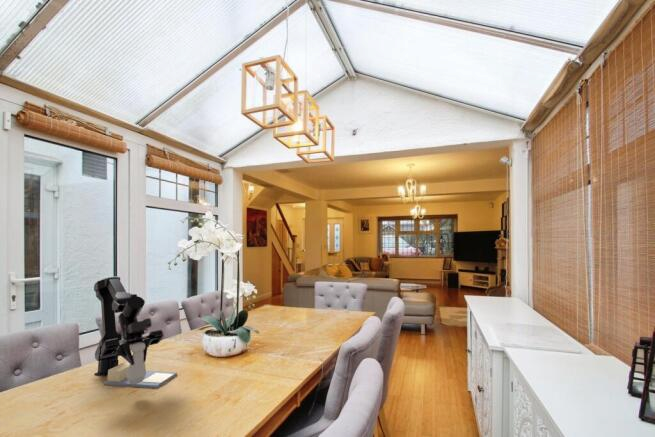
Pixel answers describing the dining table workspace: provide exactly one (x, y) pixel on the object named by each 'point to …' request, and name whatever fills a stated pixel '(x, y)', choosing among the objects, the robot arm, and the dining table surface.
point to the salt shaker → (137, 364)
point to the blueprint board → (150, 381)
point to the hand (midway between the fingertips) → (138, 363)
